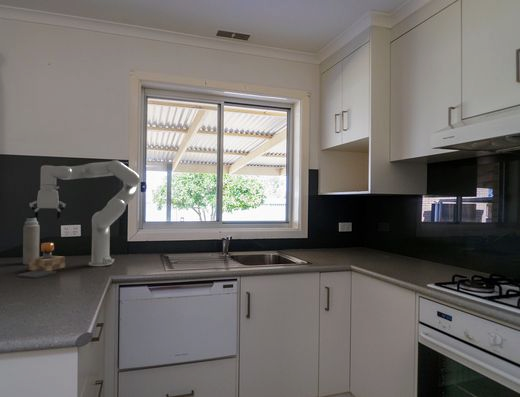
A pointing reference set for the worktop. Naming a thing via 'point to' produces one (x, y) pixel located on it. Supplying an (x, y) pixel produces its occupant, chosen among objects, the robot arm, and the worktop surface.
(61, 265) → the eye block
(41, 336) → the worktop surface
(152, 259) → the worktop surface
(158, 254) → the worktop surface
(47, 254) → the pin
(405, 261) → the worktop surface
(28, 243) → the thermos bottle
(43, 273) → the mat
